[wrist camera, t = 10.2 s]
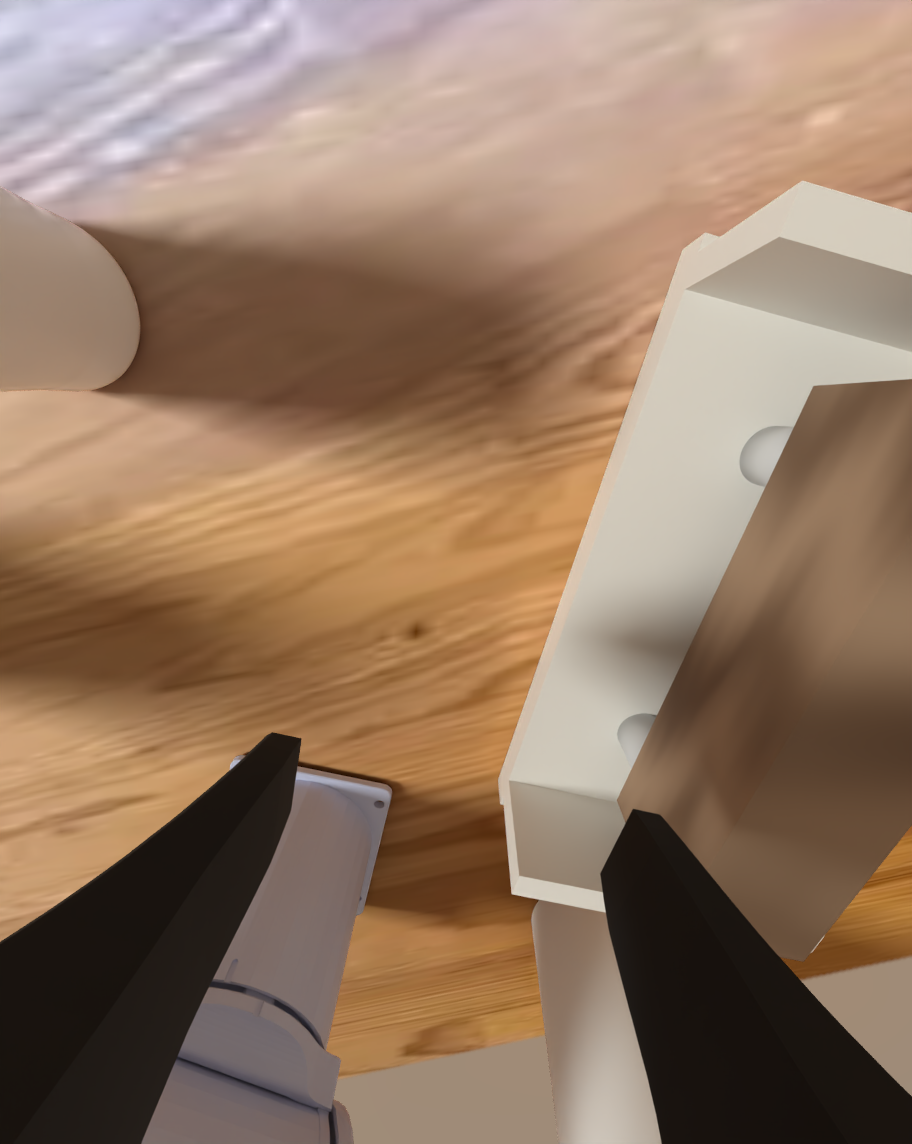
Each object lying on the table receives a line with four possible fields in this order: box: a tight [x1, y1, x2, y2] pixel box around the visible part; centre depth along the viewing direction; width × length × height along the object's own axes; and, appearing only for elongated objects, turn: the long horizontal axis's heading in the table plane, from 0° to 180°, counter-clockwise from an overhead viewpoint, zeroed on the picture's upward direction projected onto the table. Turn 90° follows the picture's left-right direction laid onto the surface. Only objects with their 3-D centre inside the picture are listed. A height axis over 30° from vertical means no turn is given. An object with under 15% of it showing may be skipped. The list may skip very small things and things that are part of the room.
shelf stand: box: [498, 181, 912, 953], centre depth 16 cm, size 23×12×6 cm, turn 167°
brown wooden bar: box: [617, 379, 912, 962], centre depth 13 cm, size 16×4×5 cm, turn 167°
